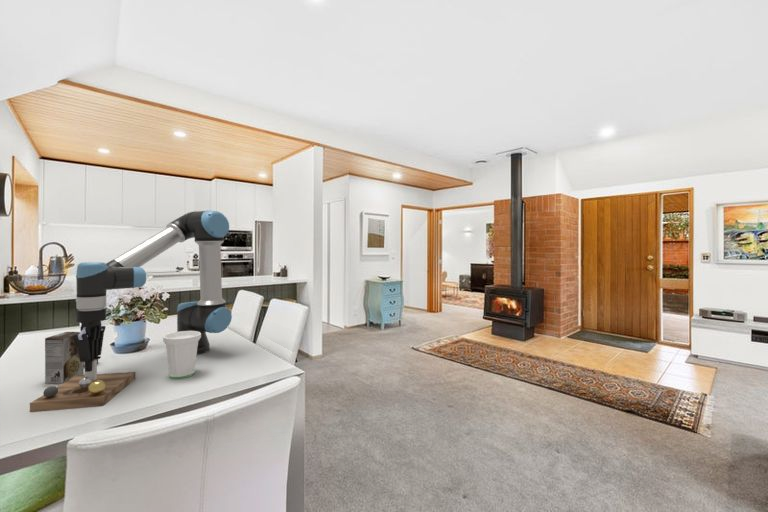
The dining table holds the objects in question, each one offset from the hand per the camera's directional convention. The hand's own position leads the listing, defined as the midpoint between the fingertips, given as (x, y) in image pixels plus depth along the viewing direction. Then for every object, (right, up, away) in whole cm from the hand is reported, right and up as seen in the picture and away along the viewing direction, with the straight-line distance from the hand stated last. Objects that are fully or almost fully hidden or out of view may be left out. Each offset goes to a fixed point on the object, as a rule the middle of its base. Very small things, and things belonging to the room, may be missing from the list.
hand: (90, 379), depth 113 cm
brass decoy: (+8, 0, -7) cm, 11 cm away
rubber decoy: (-3, 0, -10) cm, 11 cm away
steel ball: (+1, 0, -3) cm, 3 cm away
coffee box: (-18, -4, +10) cm, 21 cm away
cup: (+20, -4, +17) cm, 27 cm away
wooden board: (0, -4, -1) cm, 4 cm away
